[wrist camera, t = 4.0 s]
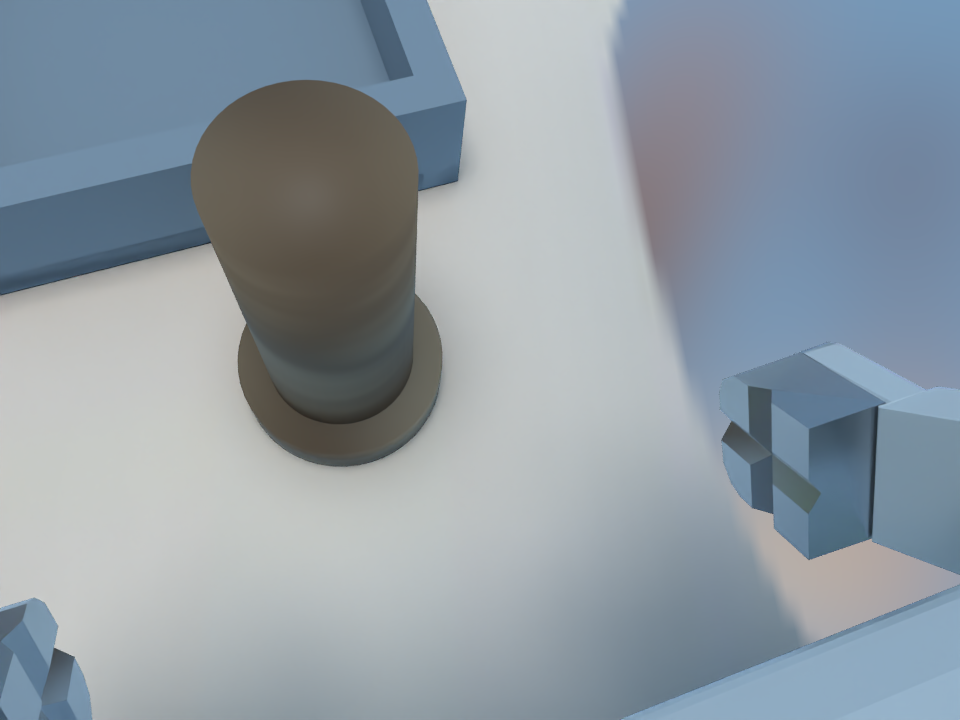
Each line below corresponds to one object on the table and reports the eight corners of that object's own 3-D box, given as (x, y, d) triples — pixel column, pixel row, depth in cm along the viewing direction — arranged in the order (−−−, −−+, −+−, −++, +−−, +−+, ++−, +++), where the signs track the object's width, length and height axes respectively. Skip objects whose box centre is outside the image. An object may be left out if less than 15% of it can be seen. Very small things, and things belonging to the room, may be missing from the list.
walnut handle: (407, 265, 22) (410, 18, 14) (465, 432, 21) (507, 268, 13) (226, 313, 21) (113, 80, 13) (274, 492, 20) (179, 357, 12)
